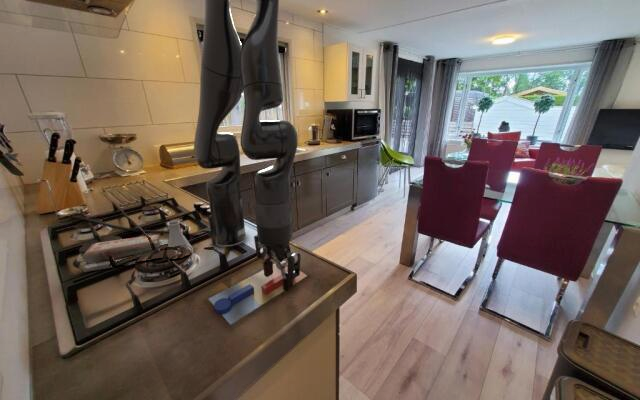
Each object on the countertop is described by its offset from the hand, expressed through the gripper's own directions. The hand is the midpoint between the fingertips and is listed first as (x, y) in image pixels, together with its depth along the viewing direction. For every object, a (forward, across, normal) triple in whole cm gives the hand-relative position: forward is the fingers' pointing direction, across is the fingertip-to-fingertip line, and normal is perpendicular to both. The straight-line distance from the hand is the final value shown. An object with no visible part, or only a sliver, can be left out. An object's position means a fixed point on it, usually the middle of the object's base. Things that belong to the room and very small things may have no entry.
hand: (277, 281), depth 59 cm
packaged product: (+2, +40, +21) cm, 45 cm away
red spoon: (+1, 0, 0) cm, 1 cm away
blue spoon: (+1, +2, +9) cm, 10 cm away
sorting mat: (+2, +3, +3) cm, 4 cm away
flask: (+2, +32, +11) cm, 34 cm away
